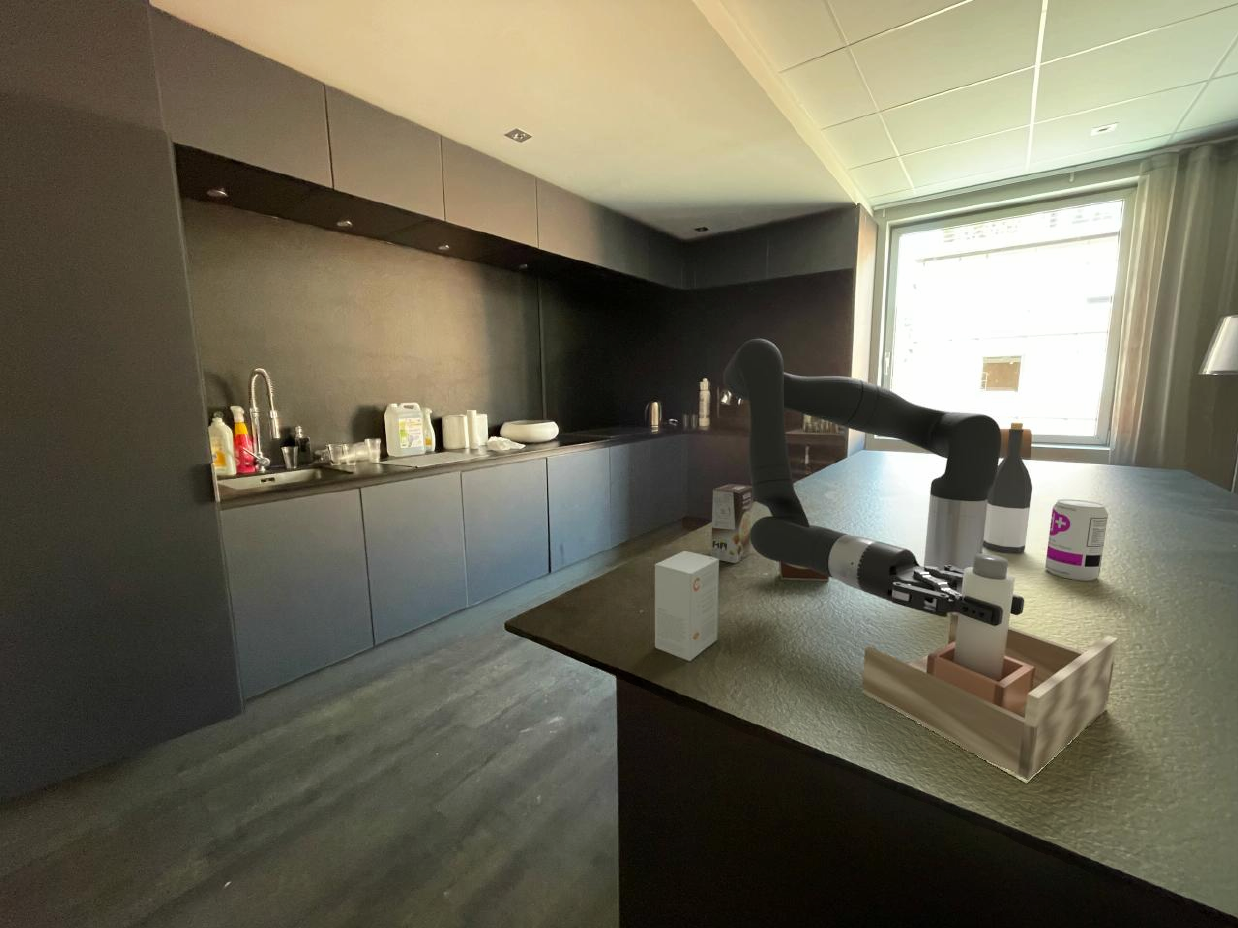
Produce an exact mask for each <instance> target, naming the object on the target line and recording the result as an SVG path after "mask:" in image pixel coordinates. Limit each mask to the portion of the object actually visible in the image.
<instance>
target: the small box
mask: <svg viewBox="0 0 1238 928" xmlns="http://www.w3.org/2000/svg"><path fill="white" fill-rule="evenodd" d="M719 565H720V560H719V559H717V558H714V557H711V555H710V556H709V555H705V554H701V553H696V552H692V551H688V550H683V551H680V552H679V553H677V554H674V555H672V556H669V557H667V558H665V559H663V560H662V561H659V562H657V563H655V564H654V647H655V648H656V649H658V650H660V651H662V652H665V653H668V654H670V655H673V656H675V657H678V658H680V659H682V660H686V661H688V662H691V661H692V660H693V659H695V658H696V657H697V656H698V655H700V654H701V653H702V652H703V651H705V650H706V649H707V648H708V647H710V646H711V645H712V644H714V643H715V642H716V641H718V623H719V622H718V620H719V619H718V617H719V616H718V612H719V611H718V610H719V609H718V608H719V574H720V573H719V569H720V567H719Z"/></svg>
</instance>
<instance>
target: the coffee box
mask: <svg viewBox="0 0 1238 928" xmlns="http://www.w3.org/2000/svg"><path fill="white" fill-rule="evenodd" d="M754 499H755V498H754V495H753V490H752V485H744V484H734V483H728V484H726V485H725V484H724V485H722V486H719V487H716V488H713V489H712V506H711V507H712V508H711V510H712V511H711V514H712V515H711V538H710V539H711V542H710V557H714V558H717V559H719V561H722V562H723V561H724V562H728V563H731V564H737V563H739V562H740V561H742V560H743V559H745V558H746V557H748V556H750V555H751V554H752V547H753V546H752V543H751V540H750V531H751V528H752V526H753V524H754V523H753V520H754Z"/></svg>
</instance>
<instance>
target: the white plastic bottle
mask: <svg viewBox="0 0 1238 928" xmlns="http://www.w3.org/2000/svg"><path fill="white" fill-rule="evenodd" d="M1008 566H1009V559H1007V558H1005V557H1003V556H999V555H996V554H990V553H989V554H988V553H982V554H975V555H974V562H973V567H968V568H965V569H964V576H963V584H962V592H961V594H963V599H964V597H965V596H969V597H972V598H975V599H978V600H982V601H985V602H988V603H991V604H994V605H997V606H1000V607H1001V608H1002V609H1003V616H1002V623H1001V624H999V625H997V626H993V625H990V624H987V623H984V622H981V621H979V620H976V619H973V618H970V617H967V616H965V615H962V614H961V615H959V617H958V625H957V634H956V642H955V650H954V658H953V663H955V664H958V665H960V666H962V667H965V668H967V669H969V670H972V671H974V672H976V673H979V674H981V675H983V676H986V677H988V678H990V679H993V680H997V679H1000V678H1001V677H1002V669H1003V662H1004V655H1005V648H1006V641H1007V633H1008V627H1010V626H1009V625H1010V618H1011V613H1010V612H1011V604H1012V597H1013V594H1014V590H1015V589H1014V588H1015V582H1016V578H1015V577H1014V576H1013V575H1011V574H1010V573H1008Z"/></svg>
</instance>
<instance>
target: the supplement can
mask: <svg viewBox="0 0 1238 928" xmlns="http://www.w3.org/2000/svg"><path fill="white" fill-rule="evenodd" d="M1051 511H1052V512H1051V519H1050V524H1049V533H1048V542H1047V548H1046V549H1047V550H1046V558H1045V563H1044V568H1045V569H1047V570H1048V572H1049V573H1050V574H1052V575H1055V576H1057V577H1060V578H1064V579H1069V580H1073V581H1083V582H1084V581H1085V582H1089V581H1094V580H1096V579H1097V578H1100V573H1101V567H1102V560H1103V553H1104V546H1105V539H1106V531H1107V524H1108V517H1109V513H1108V511H1107V509H1106V506H1105V505H1104V504H1102V503H1100V502H1099V503H1098V502H1095V501H1091V500H1090V501H1089V500H1080V499H1069V498H1067V499H1066V498H1063V499H1058V500H1057V502H1056V503H1055V504H1054V505H1053V506H1052V510H1051Z"/></svg>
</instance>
